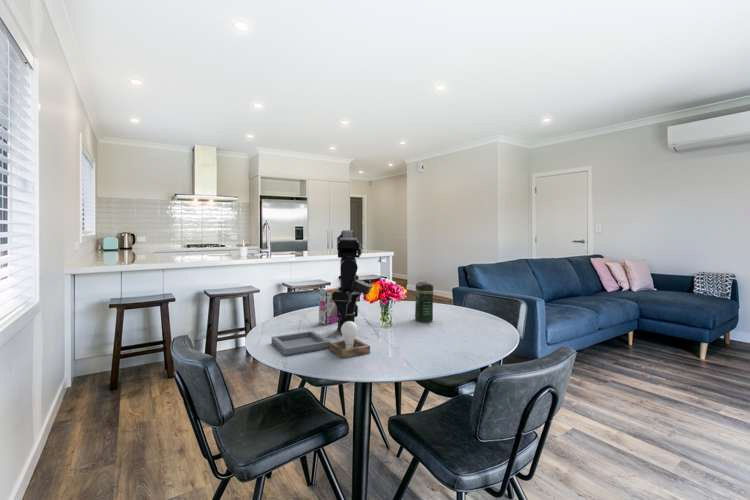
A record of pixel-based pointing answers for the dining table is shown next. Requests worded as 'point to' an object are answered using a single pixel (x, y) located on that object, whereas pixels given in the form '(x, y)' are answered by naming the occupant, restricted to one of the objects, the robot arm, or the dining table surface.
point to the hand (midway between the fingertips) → (348, 315)
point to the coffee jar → (424, 302)
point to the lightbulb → (349, 333)
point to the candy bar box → (327, 306)
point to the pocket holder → (358, 350)
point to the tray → (300, 342)
